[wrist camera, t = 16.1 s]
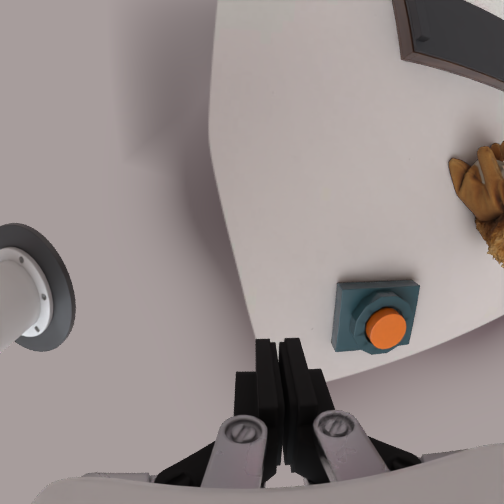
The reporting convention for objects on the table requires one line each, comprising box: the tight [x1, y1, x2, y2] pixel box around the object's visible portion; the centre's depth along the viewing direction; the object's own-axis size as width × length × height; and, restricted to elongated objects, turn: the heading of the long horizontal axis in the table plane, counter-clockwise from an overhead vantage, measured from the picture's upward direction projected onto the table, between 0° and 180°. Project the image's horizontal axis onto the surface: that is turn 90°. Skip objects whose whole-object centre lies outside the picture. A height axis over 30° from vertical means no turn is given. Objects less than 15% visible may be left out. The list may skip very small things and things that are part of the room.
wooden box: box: [392, 0, 504, 91], centre depth 26 cm, size 18×11×3 cm, turn 91°
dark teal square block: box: [331, 280, 420, 355], centre depth 35 cm, size 10×8×4 cm
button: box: [366, 308, 406, 349], centre depth 32 cm, size 4×4×2 cm
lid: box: [406, 0, 504, 81], centre depth 23 cm, size 18×11×2 cm, turn 91°
